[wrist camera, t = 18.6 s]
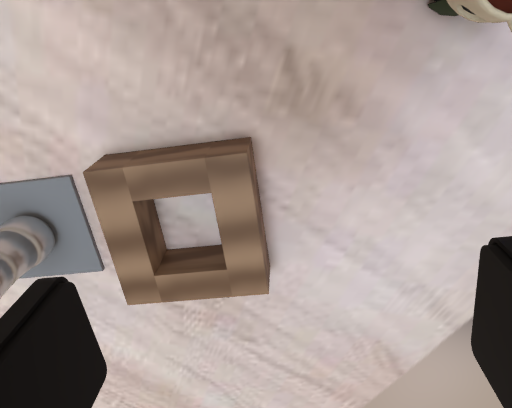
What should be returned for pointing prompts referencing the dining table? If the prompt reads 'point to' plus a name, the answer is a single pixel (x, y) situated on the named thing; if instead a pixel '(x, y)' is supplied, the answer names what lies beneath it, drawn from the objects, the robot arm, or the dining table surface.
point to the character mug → (476, 10)
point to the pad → (54, 223)
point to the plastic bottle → (22, 247)
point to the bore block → (149, 230)
